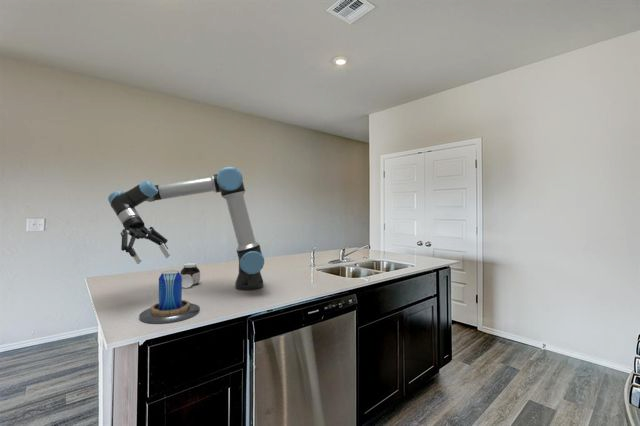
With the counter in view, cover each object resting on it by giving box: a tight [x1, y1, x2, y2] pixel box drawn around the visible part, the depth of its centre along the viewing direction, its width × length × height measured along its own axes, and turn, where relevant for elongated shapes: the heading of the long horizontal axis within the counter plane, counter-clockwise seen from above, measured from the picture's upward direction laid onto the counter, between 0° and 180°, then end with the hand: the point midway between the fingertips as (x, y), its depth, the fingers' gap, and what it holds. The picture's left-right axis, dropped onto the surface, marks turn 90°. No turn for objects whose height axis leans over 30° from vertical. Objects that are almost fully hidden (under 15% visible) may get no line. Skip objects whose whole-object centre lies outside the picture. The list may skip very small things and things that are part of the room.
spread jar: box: [179, 262, 201, 289], centre depth 167 cm, size 12×11×12 cm
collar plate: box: [138, 299, 201, 325], centre depth 123 cm, size 22×22×4 cm
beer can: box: [158, 269, 183, 310], centre depth 123 cm, size 8×8×16 cm
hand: (154, 259), depth 129 cm, fingers open, 13 cm apart
